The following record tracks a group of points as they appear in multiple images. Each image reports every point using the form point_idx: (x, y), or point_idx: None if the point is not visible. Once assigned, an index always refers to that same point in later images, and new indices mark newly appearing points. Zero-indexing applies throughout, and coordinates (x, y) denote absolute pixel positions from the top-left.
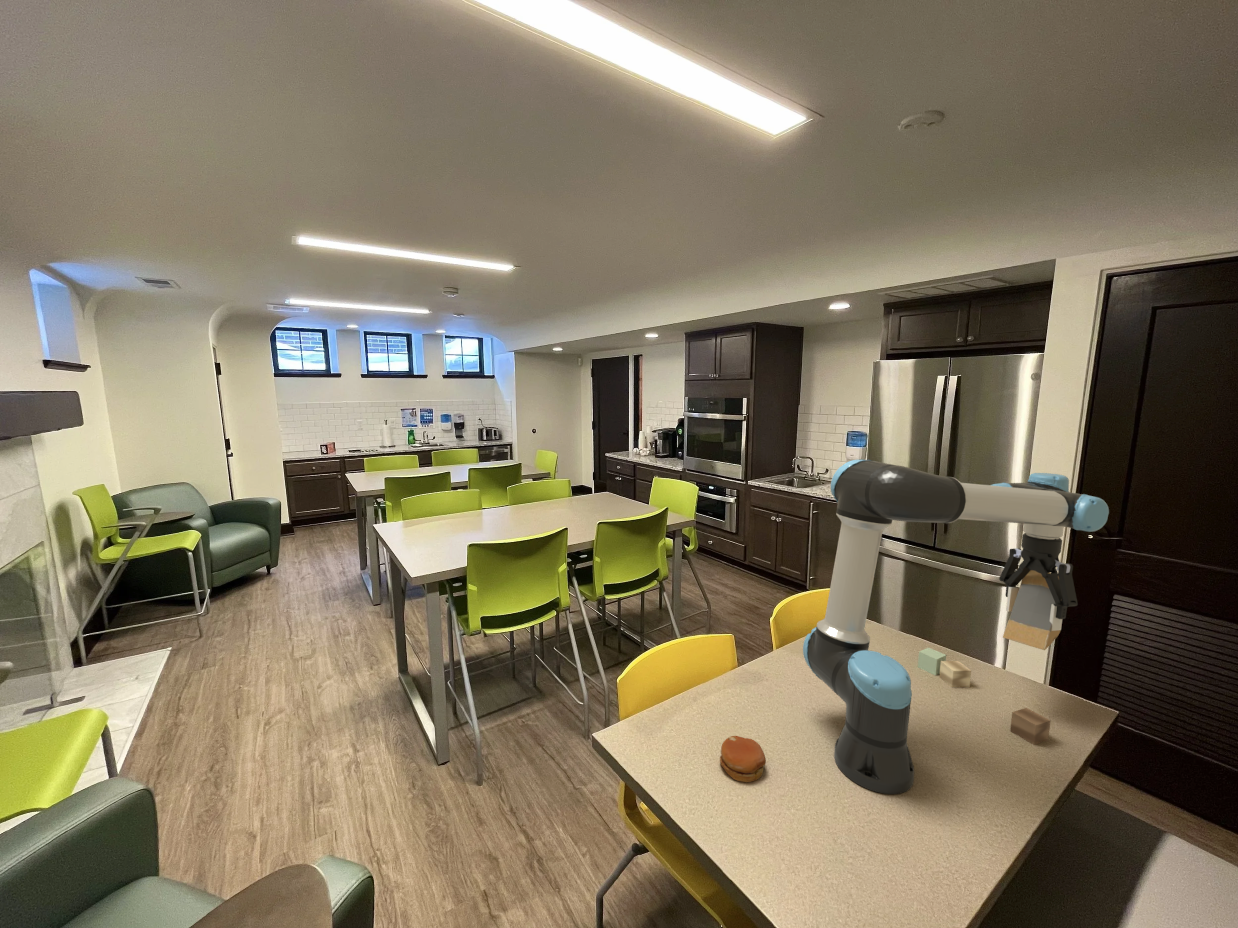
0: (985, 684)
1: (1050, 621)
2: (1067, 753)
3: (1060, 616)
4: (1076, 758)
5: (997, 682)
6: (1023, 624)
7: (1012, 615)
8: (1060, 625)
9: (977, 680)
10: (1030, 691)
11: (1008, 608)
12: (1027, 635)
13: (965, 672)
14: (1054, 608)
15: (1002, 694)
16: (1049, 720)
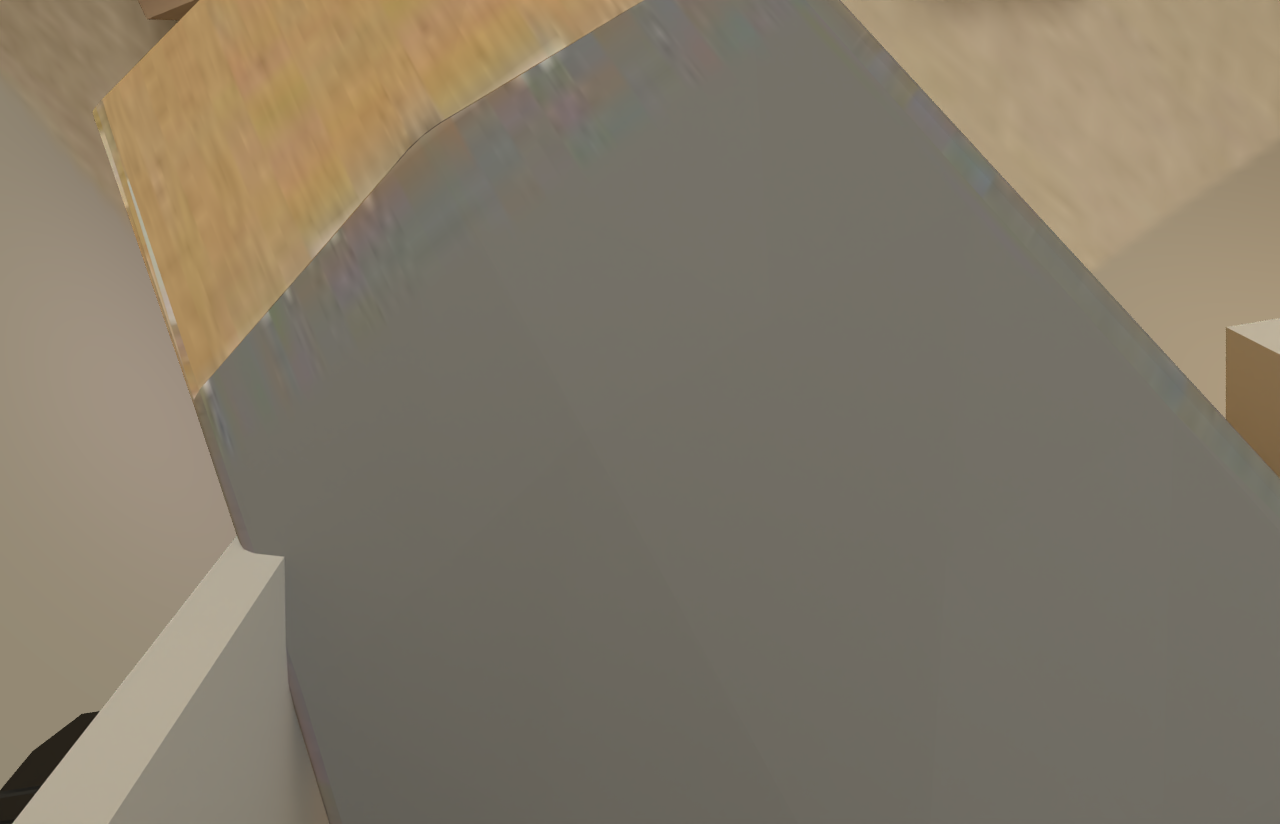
0: (961, 88)
1: (267, 564)
2: (72, 39)
3: (34, 764)
4: (24, 60)
5: None
6: (495, 81)
7: (800, 30)
8: None
9: (1028, 59)
10: None
11: (1276, 343)
12: (325, 22)
13: None
14: (24, 811)
15: None
16: (144, 7)
